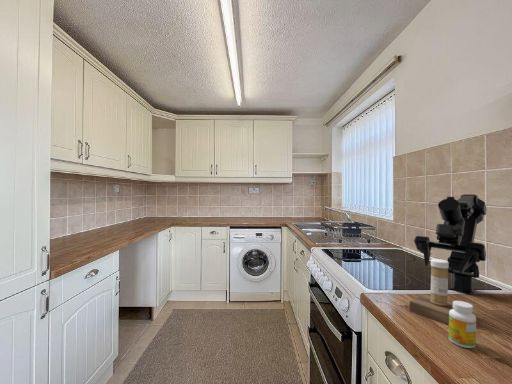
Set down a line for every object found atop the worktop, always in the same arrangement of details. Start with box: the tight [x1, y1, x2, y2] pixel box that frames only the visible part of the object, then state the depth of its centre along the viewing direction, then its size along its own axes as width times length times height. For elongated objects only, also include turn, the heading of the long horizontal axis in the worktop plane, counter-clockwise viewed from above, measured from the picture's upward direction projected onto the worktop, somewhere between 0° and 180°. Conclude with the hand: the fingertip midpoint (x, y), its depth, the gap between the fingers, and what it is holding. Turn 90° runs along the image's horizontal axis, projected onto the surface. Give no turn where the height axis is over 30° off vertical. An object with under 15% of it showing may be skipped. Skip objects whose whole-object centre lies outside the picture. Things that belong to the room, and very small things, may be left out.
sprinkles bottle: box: [430, 258, 449, 306], centre depth 82 cm, size 5×5×14 cm
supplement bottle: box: [448, 300, 477, 349], centre depth 66 cm, size 5×5×10 cm
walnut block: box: [409, 293, 454, 326], centre depth 81 cm, size 12×12×3 cm
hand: (442, 268), depth 83 cm, fingers open, 9 cm apart
